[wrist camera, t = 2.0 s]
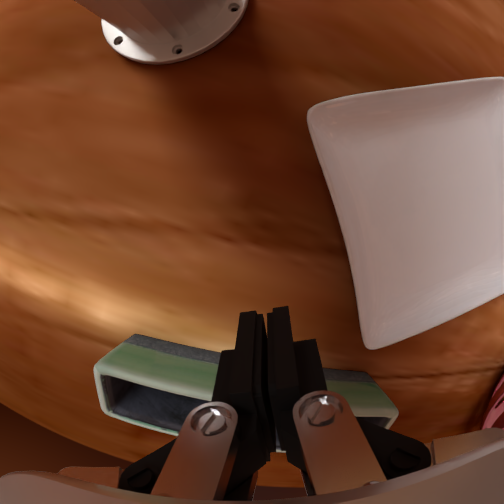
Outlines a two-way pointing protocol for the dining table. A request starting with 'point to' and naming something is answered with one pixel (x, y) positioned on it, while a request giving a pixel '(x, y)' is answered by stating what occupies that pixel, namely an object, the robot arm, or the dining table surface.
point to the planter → (200, 385)
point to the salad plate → (417, 200)
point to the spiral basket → (495, 408)
